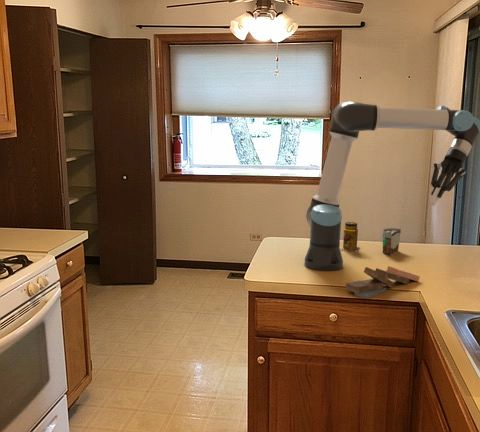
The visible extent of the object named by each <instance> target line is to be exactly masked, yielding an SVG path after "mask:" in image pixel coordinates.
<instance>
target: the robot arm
mask: <svg viewBox="0 0 480 432" xmlns="http://www.w3.org/2000/svg"><path fill="white" fill-rule="evenodd" d="M377 129H396V130H397V129H398V130H399V129H400V130H427V131H428V130H431V131H432V130H433V131H434V130H435V131H446V132H448V133H449V134H451V135H453V136H454V137H453V140H452V142H451V144H450V146H449V148H448V150H447V152H446V154H445V156H444V158H443V160H442V161H441V162H439V163H436V162H435V163H433V172H432V177H431V182H430V185H431V187H432V188H433V189H432V191H431V194H430V195H431V197H430V199H429V204H430V205H431V206H436V204H437V202H438V200H439V199H441V198H442V197H443V195H444V193H445V192H450V191H451V190H453V188H454V187H455V185H456V184H458V182H459V181H460V179H461V178H462V177H464V176H465V175H467V173H466V169H464V168H463V167H464V164H465V161H466V159H467V157H468V156H469V153H470V151H471V149H472V147H473V145H474V144H475V141H476V139H477V138H478V136H479V134H480V119H478V118H477V117H474V115H473V114H472V113H471V112H470V111H468V110H466V109H464V110H463V109H450V108H449V107H448V106H445V105H443V104H442V105H439V106H438V107H437V108H436V109H431V108H430V109H429V108H406V107H404V108H402V107H401V108H400V107H399V108H398V107H379V106H378V104H369V103H363V102H358V101H353V100H352V101H350V100H349V101H347V100H346V101H343V102H340V103H339V104H337V105H336V106H335V107H334V108H333V111H332V112H331V123H330V127H329V131H328V132H329V135H330V136H331V140H330V142H329V147H328V151H327V154H326V157H325V162H324V165H323V169H322V173H321V177H320V180H319V185H318V188H317V192H316V194H315V195H313V196H312V197H311V201H310V204H309V207H307V210H306V214H305V215H306V216H305V217H306V222H307V224H308V226H309V227H310V231H309V232H310V234H309V246H308V249H307V252H306V254H305V257H304V262H303V263H304V266H305V267H306V268H308V269H311V270H317V271H329V272H330V271H332V272H333V271H339V270H341V269H342V268H343V267H344V260H343V256H342V252H341V251H342V250H341V248H340V245H341V243H340V242H341V230H342V228H341V227H342V217H343V215H342V210H341V208H340V205H341V203H340V202H339V201H340V200H338V197H339V195H340V191H341V187H342V183H343V179H344V175H345V171H346V168H347V164H348V160H349V156H350V153H351V149H352V146H353V143H354V141H356V140H358V138H359V135H360V132H364V131H365V132H367V131H373V132H374V131H376V130H377ZM440 170H441V172H440Z"/></svg>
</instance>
